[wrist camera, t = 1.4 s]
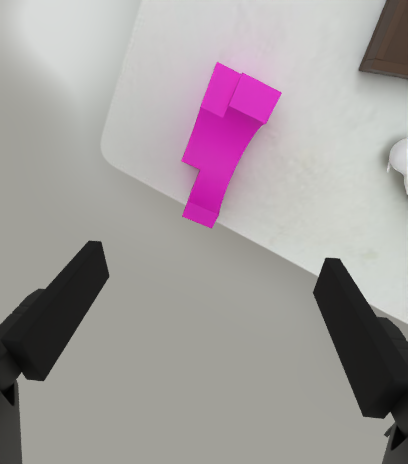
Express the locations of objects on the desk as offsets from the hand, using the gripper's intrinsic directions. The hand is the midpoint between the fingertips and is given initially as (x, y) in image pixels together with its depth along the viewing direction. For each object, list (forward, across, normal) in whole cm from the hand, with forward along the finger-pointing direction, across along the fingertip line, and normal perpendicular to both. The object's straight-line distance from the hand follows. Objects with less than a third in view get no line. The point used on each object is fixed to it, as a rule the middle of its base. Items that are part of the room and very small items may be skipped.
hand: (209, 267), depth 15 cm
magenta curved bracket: (+21, -1, +3) cm, 21 cm away
